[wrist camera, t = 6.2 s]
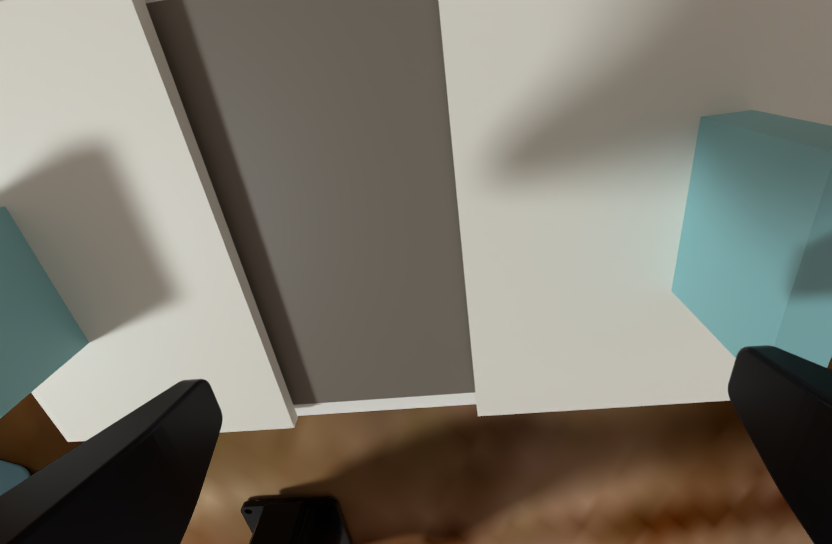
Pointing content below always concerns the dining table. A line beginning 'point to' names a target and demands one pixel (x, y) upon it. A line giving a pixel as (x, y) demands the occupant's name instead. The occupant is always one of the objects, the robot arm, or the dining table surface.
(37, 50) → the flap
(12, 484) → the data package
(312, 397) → the carton
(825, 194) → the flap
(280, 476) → the dining table surface
